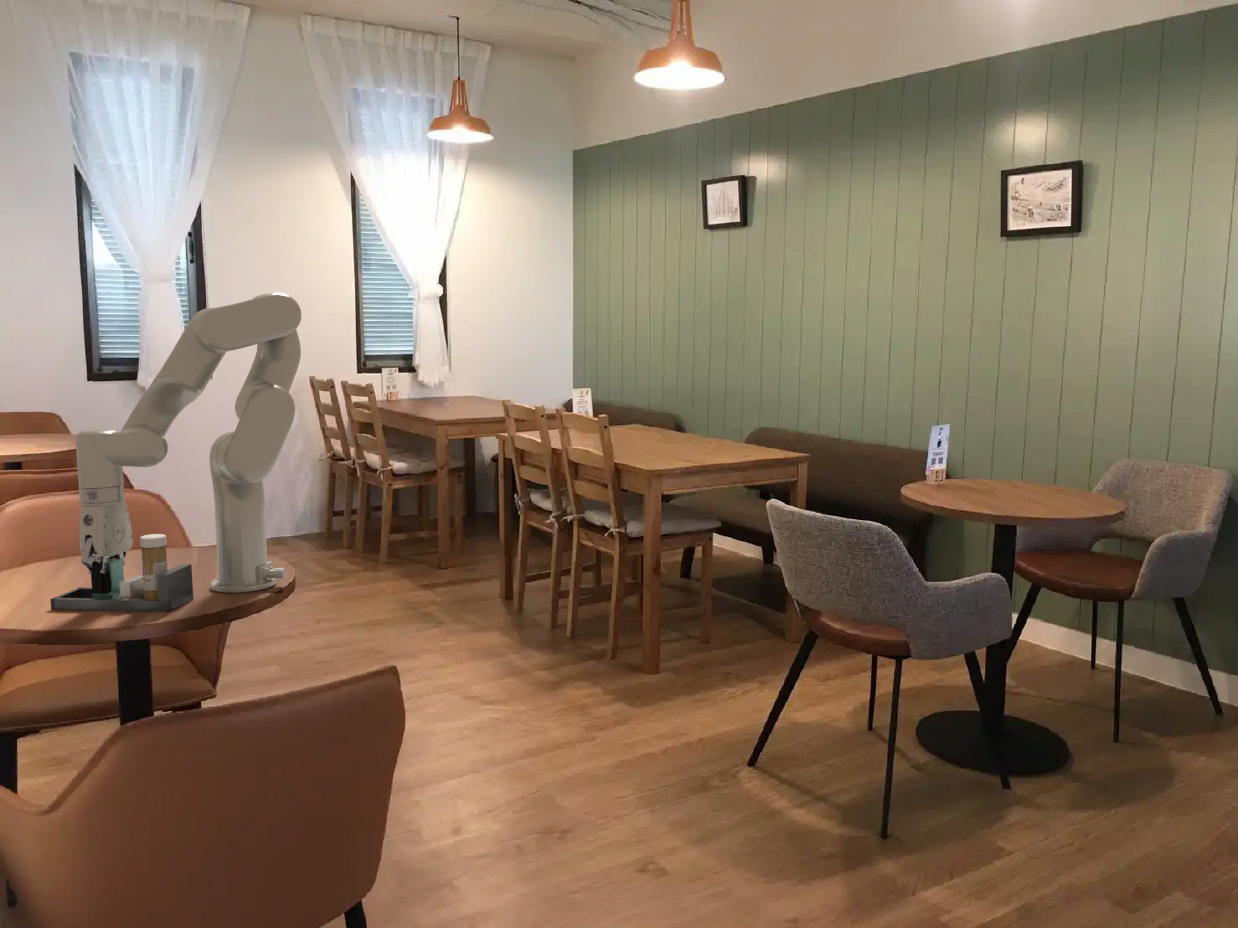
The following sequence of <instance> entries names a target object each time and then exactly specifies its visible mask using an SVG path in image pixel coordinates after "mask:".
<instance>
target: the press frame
mask: <svg viewBox="0 0 1238 928" xmlns="http://www.w3.org/2000/svg"><path fill="white" fill-rule="evenodd" d="M192 567H193V566H192V563H182V564H179V565H177V566H174V567H173V568H169V569H168V571H165V572H163V573H161V574H158V590H159V600H143V599H130V598H124V599H93V595H92V586H91V587H90V586H89V587H87V586H85V587H80V586H79V587H77V588H75V589H72V590H69V591H67V592H65V593H62V594H59V595H58V596H55V597H51V598H50V601H49V602H50V609H51V610H52V611H53V610H55V611H57V610H59V611H61V610H62V611H102V612H103V611H104V610H105V611H107V612H108V611H109V612H110V611H111V612H148V613H149V612H152V613H154V612H155V613H170V612H172V611H174V610H175V609H178V608H179V607H182V606H184V605H186V604H187V603H189V602H192V601H194V587H193V586H194V585H193V584H194V583H193V568H192ZM183 604H184V605H183ZM105 611H104V612H105Z"/></svg>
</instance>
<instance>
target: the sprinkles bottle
mask: <svg viewBox="0 0 1238 928" xmlns="http://www.w3.org/2000/svg"><path fill="white" fill-rule="evenodd" d="M167 541H168V540H167V535H166V534H162V533H151V534H144V535H141V536H140V538H139V546H140V548H141V557H142V576H143V588H144V600H159V590H158V574H161V573H163V572H165V571H168V570H169V569H168V559H167V545H168V544H167V543H168V542H167Z"/></svg>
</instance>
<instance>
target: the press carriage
mask: <svg viewBox="0 0 1238 928" xmlns="http://www.w3.org/2000/svg"><path fill="white" fill-rule="evenodd" d="M96 561H97V562H98V563H99V564H100V560H96ZM106 573H109V585H110V593H108V594H93V593H92V595H93V599H124V598H130V599H143V600H144V588H143V574H142V575H138V574H137V575H134V576H131V577H129V578H127V579H125V573H124V566H123V558H107V565H106Z"/></svg>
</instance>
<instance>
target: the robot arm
mask: <svg viewBox="0 0 1238 928" xmlns="http://www.w3.org/2000/svg"><path fill="white" fill-rule="evenodd" d="M301 321H302V309H301V306H300V305H299V304H298V302H297V301H296V299H295V298H293V297H292V296H291V295H289V294H286V293H284V292H283V293H282V292H271V293H263V294H260V295H256V296H254V297H253V298H252V299H248V300H244V301H240V302H236V303H232V304H229V305H228V304H227V305H222V306H217V307H209V308H204V309H201V310H198V312H196V313H195V314H194V315H193V316H192V318H191V319H190V320H189V322H188V324H187V326H185V329H184V330H183V332H182V334H181V335H180V337H179V338H178V340H177V342H176V343H175V346H174V347H173V349H172V351H171V352H170V354H169V356H168V357H167V359H166V360H165V362H164V363H163V365H162V367H161V368H160V370H159V372H158V373H157V375H155V377H154V379H153V380H152V382H151V383H150V385H149V386H148V388H147V389H146V390H145V392H144V394H143V395H142V396H141V398H139V400H138V402H137V404H136V405H135V407H134V408H133V410H132V411H131V413H130V415H129V417H128V418H127V420H126V421H125V424H124V425H123V426H122V429H121V430H120V431H117V430H114V429H105V428H104V429H88V430H87V429H86V430H83V431H80V432H78V433H77V434H76V437H75V451H76V463H77V480H78V492H79V505H80V512H79V547H80V552H81V555H82V556H81V558H80V563H81V564H83V565H84V566H86V568H87V570H88V574H90V580H91V581H90V582H91V587H92V593H93V594H108V593H110V585H109V573H106V565H107V558H123V567H124V566H125V564H126V561H125V558H126V556H127V552H128V551H129V550H130V549H131V548H132V547H133V531H132V523H131V518H130V512H129V507H128V504H127V501H126V498H125V484H124V472H123V471H124V469H123V467H132V468H134V467H135V468H151V467H155V466H157V465H159V464H161V462H163V461H164V460H165V458H166V457H167V455H168V451H169V445H168V441H167V439H166V438H165V435H166V434H167V432H168V430H169V429H170V427H171V426H172V424H174V423H173V422H174V421H175V420H176V419H177V417H178V416H179V415H180V413H181V412H182V411H183V410H184V409H185V408H187V407H188V406H189V405H191V404H192V403H193V402H194V401H196V400H197V399H198V398H199V397H200V396H201V395H202V394H203V392H204V390H205V389H206V386H207V385H208V384H209V381H210V380H211V378H212V376H213V374H214V372H215V371H216V369H217V367H218V366H219V365H220V363H221V361H222V360H223V358H224V356H225V354H226V352H231V351H235V350H239V349H240V350H241V349H244V348H247V347H251V346H254V345H255V346H256V353H255V356H254V359H253V362H252V364H251V368H250V369H249V371H248V374H247V376H246V379H245V380H244V382H243V385H242V387H241V389H240V391H239V393H238V394H237V397H236V400H235V403H234V411H235V415H236V417H237V419H238V420H239V421H238V423H237V425H236V427H235V430H234V431H229V432H225V433H224V434H221V435H220V436H218V437H217V439H215V441H214V442H213V444H212V445H211V447H210V451H209V458H208V459H209V468H210V470H209V471H210V475H211V482H212V488H213V500H214V503H213V504H214V521H215V524H214V525H215V541H216V558H217V559H216V560H217V578H215V579H213V580H212V581H211V582H210V584H209V586H210V589H211V590H212V591H215V592H218V593H228V594H231V593H233V594H235V593H248V592H256V591H260V590H261V591H262V590H265V589H269V588H271V587H273V586H275V585H276V583H277V580H281V579H282V580H285V579H286V578H287V570H286V568H285V567H278V568H277V567H274V566H273V561H272V560H271V561H270V560H269V561H268V551H267V549H268V548H267V547H268V546H267V527H266V507H265V506H266V504H265V492H264V491H265V489H264V483H263V480H264V479H266V477H268V476H269V474H271V472H272V470H273V469H274V466H275V465H276V462H277V461H278V458H279V456H280V453H281V451H282V450H283V446H284V444H285V442H286V440H287V437H288V435H289V432H290V431H291V428H292V426H293V423H294V419H295V413H296V404H295V401H294V398H293V396H292V395H291V393H290V390H291V387H292V385H293V382H294V379H295V376H296V374H297V372H298V368H299V365H300V361H301V353H302V349H301V348H302V347H301V342H300V338H299V334H298V330H297V329H298V327H299V326H300V324H301ZM96 560H100V564H99V563H98V562H97V561H96Z"/></svg>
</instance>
